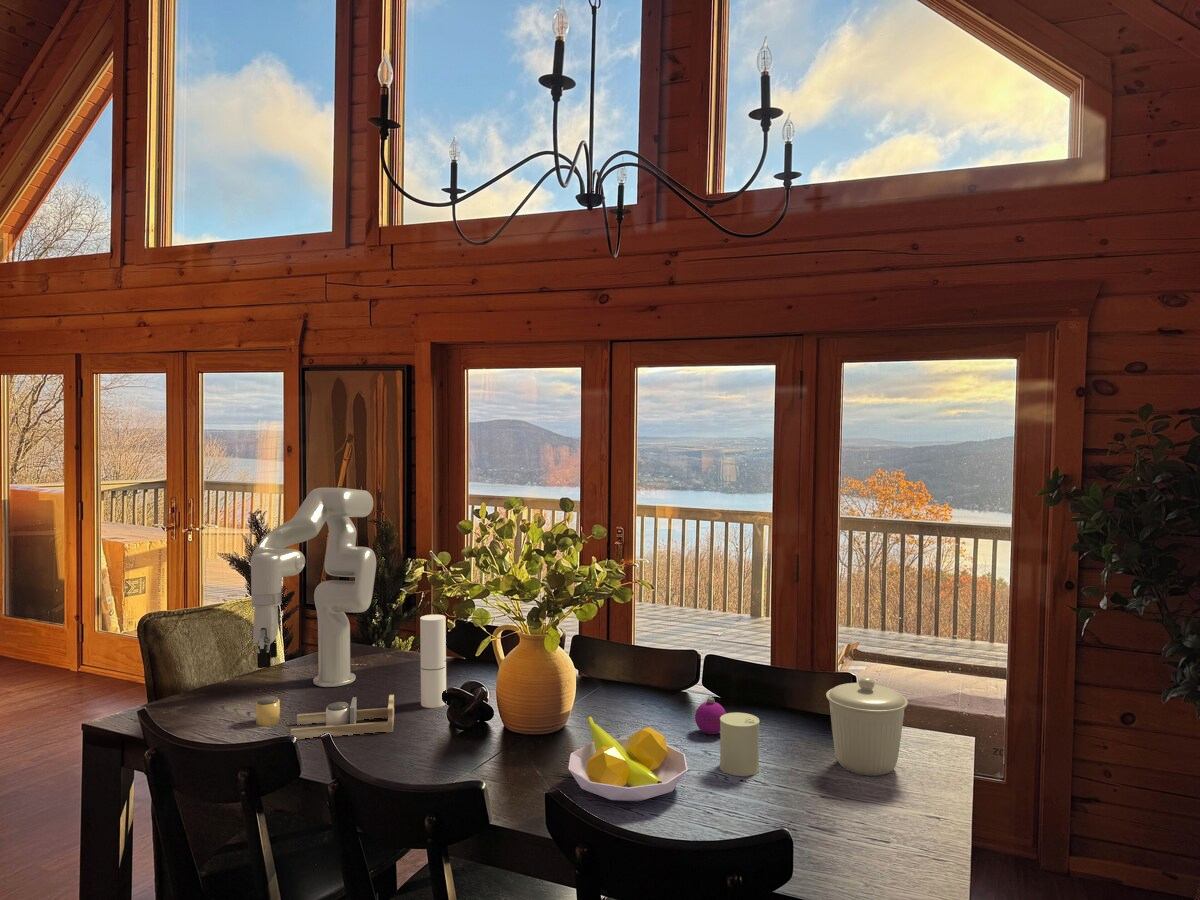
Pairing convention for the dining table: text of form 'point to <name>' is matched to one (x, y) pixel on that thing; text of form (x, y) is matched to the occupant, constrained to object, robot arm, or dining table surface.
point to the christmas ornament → (709, 716)
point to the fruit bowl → (627, 765)
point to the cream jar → (338, 714)
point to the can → (739, 744)
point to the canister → (866, 726)
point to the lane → (347, 728)
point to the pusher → (353, 711)
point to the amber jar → (267, 711)
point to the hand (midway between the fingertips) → (267, 662)
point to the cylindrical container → (433, 660)
